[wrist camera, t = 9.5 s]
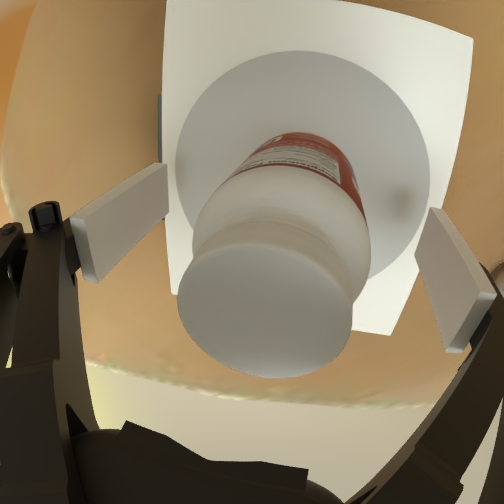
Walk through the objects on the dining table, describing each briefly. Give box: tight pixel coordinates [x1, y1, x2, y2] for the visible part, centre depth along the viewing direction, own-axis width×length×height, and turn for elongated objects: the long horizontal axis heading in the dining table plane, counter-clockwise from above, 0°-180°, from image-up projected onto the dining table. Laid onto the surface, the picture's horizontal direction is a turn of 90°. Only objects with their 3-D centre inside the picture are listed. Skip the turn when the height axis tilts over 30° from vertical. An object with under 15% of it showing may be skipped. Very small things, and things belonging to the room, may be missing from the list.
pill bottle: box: [177, 132, 371, 378], centre depth 13 cm, size 6×6×11 cm
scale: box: [158, 0, 473, 335], centre depth 19 cm, size 22×18×4 cm
